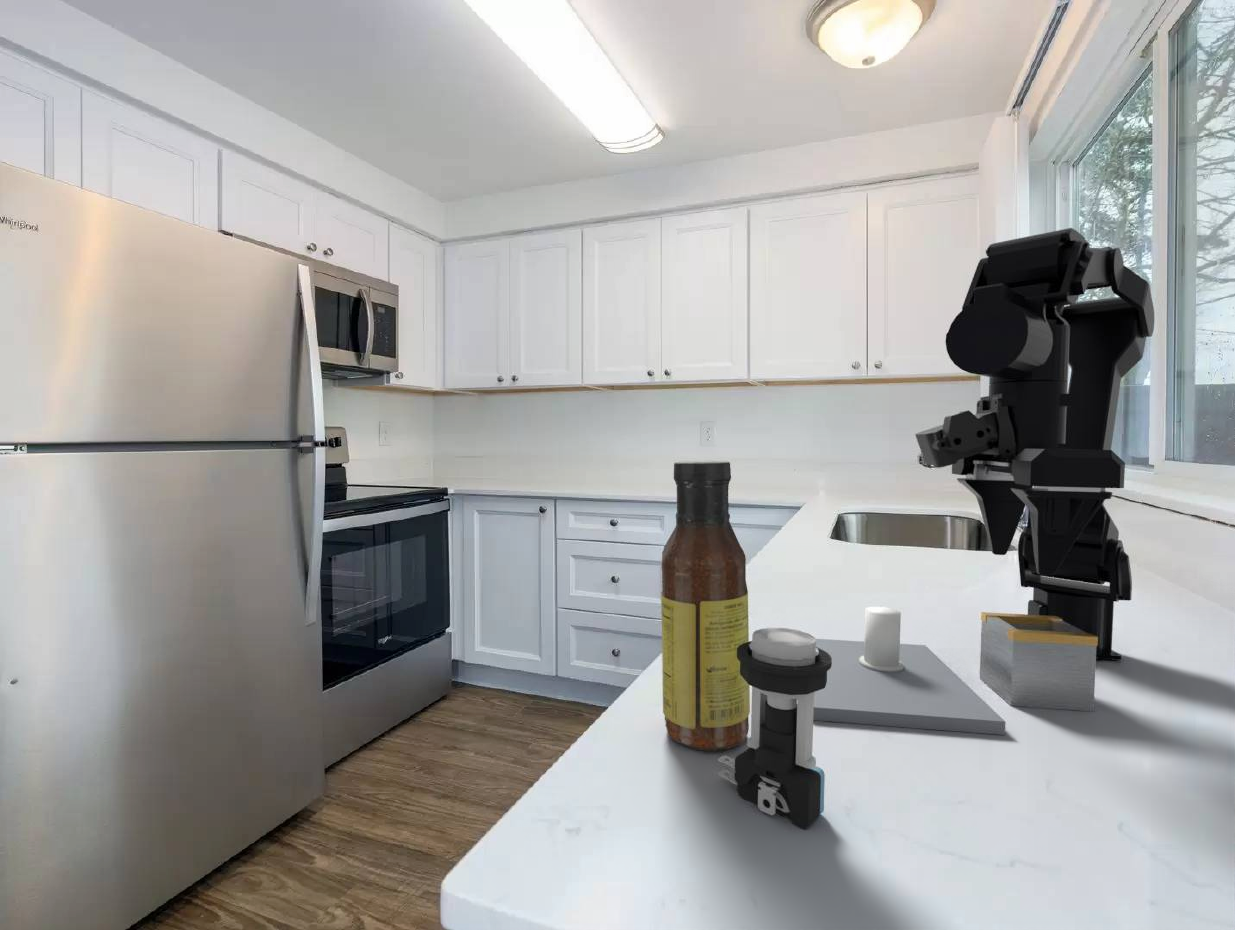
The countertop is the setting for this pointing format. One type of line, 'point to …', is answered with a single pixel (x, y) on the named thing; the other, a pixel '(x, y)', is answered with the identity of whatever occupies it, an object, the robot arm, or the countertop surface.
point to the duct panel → (897, 684)
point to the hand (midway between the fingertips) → (1020, 563)
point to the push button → (781, 725)
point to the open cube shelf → (1038, 661)
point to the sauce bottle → (704, 614)
